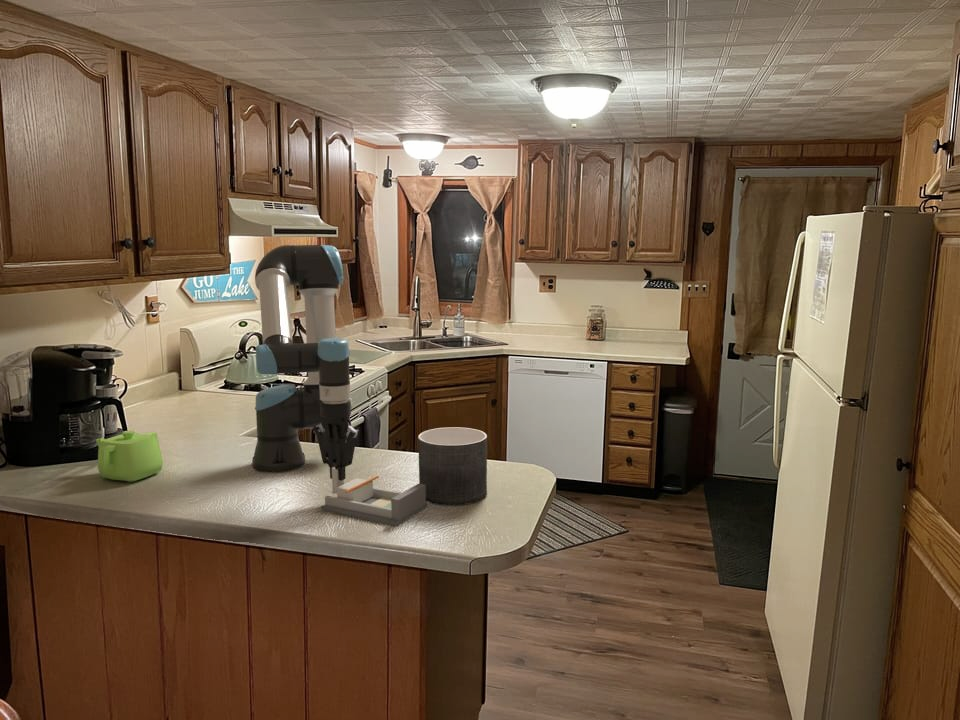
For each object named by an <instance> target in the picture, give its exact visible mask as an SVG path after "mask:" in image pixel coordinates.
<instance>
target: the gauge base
mask: <svg viewBox="0 0 960 720" xmlns="http://www.w3.org/2000/svg"><path fill="white" fill-rule="evenodd" d="M427 508H429V502H427V501H426V485H424V484H419V483H417V484H415V485H414V486H412V487H410V488H408V489H407V490H404V491H403V492H402V491H401V492H400V491H397V490H391V489H386V488H380V487H375V486H373V496H372V497H371V498H369V499H367V500H365V501H363V502H357V501H352V500H347V499H342V498H337V496H332V495H331V496H330V495H326V496H324V505H321V511H324V512H329V513H332V514H339V515H343V516H348V517H352V518H357V519H360V520H361V519H363V520H366V521H371V522H376V523H381V524H386V525H391V526H395V527H398V526H399V525H400V524H402V523H404V522H406V521H408V520H409V519H410V518H412V517H414V516H415V515H417V514H419V513H420V512H422V511H423V510H425V509H427Z"/></svg>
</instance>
